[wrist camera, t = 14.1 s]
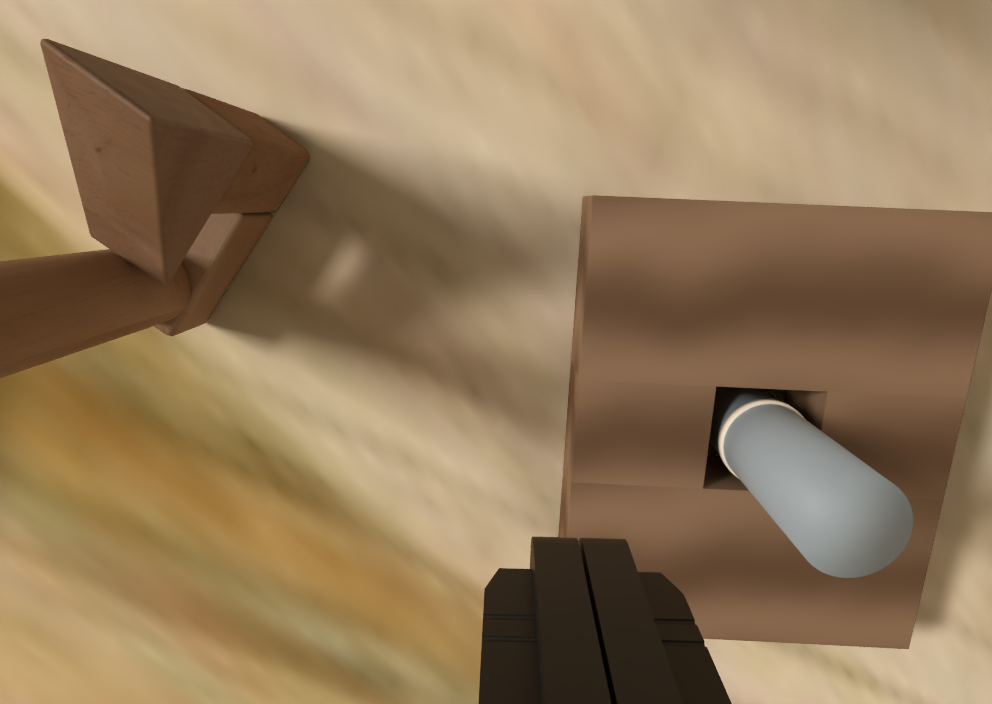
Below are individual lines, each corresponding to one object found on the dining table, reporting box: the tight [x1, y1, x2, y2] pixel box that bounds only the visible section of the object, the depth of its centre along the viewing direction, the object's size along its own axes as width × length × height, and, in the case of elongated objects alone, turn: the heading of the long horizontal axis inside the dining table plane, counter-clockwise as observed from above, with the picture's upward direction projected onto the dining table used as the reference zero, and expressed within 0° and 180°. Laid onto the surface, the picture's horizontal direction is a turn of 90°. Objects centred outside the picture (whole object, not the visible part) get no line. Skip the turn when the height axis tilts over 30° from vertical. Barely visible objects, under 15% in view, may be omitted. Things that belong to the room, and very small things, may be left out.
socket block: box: [558, 196, 992, 649], centre depth 31 cm, size 22×18×4 cm
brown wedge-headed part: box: [0, 39, 309, 378], centre depth 23 cm, size 4×11×18 cm, turn 143°
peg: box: [709, 386, 913, 578], centre depth 27 cm, size 4×4×12 cm
